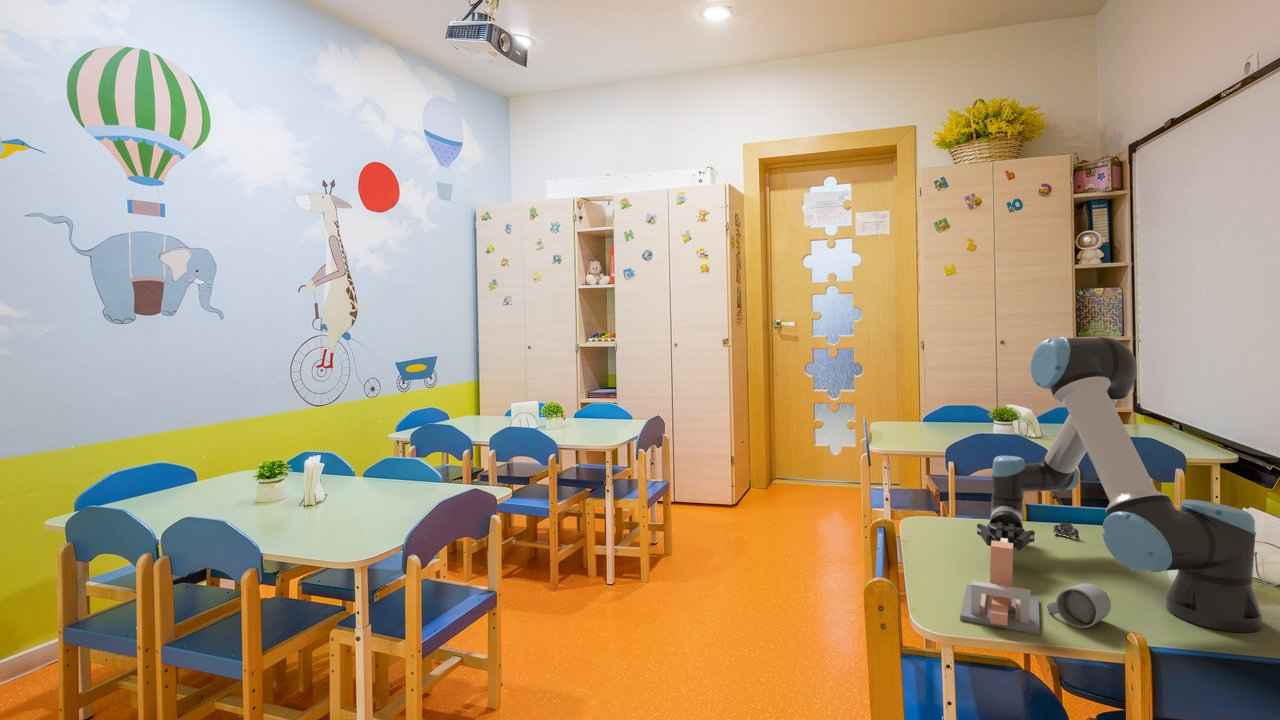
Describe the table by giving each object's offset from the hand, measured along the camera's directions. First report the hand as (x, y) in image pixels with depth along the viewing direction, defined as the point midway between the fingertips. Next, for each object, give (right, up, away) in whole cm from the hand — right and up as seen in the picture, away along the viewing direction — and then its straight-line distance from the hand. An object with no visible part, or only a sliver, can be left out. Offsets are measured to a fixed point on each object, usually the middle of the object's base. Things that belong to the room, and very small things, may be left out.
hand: (1003, 552), depth 157 cm
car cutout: (+38, -6, +31) cm, 50 cm away
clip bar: (-9, -8, -16) cm, 20 cm away
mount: (-7, -9, -12) cm, 16 cm away
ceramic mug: (+6, -9, -17) cm, 20 cm away
